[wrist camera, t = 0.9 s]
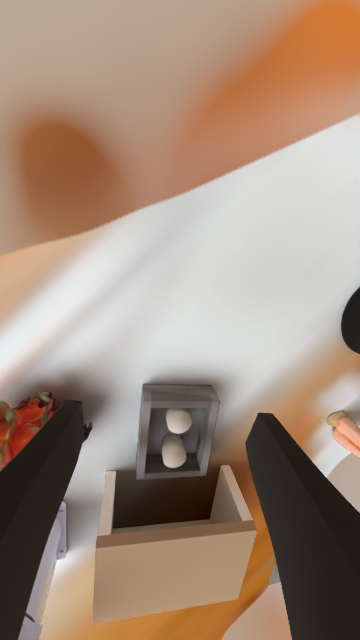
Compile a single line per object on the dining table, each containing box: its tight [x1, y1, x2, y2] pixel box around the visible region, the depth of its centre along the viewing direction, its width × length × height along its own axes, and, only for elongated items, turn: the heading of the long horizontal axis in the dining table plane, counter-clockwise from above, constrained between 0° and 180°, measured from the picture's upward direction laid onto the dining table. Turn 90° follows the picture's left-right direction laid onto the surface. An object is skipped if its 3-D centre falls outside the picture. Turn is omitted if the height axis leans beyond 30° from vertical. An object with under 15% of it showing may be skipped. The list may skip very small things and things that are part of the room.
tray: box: [136, 384, 220, 480], centre depth 28 cm, size 10×8×4 cm
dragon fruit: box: [0, 392, 92, 470], centre depth 23 cm, size 8×8×12 cm
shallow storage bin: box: [93, 465, 257, 624], centre depth 29 cm, size 11×16×8 cm
